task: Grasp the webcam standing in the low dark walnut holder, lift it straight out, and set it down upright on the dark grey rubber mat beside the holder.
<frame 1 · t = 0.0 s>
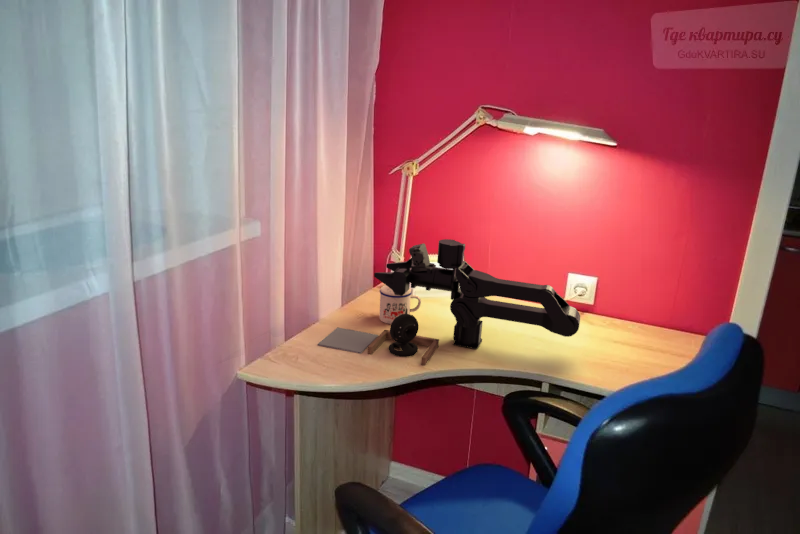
hand: (380, 269, 161), 17 cm above the table, tool horizontal, fingers open, 9 cm apart
mat: (348, 340, 156), on the table
holder: (403, 351, 151), on the table
teacup with lid: (399, 319, 172), on the table
webcam: (403, 351, 151), on the table
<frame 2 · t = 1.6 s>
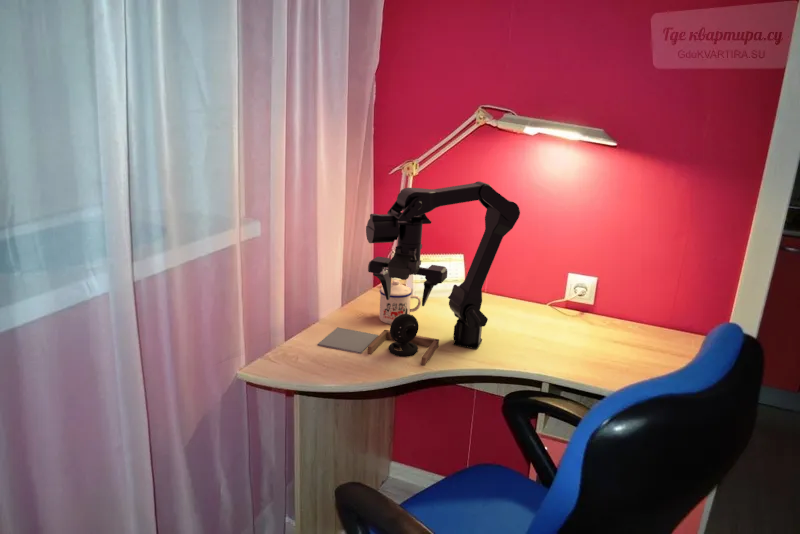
hand: (405, 302, 148), 13 cm above the table, tool pointing down, fingers open, 9 cm apart
nothing on the table moved.
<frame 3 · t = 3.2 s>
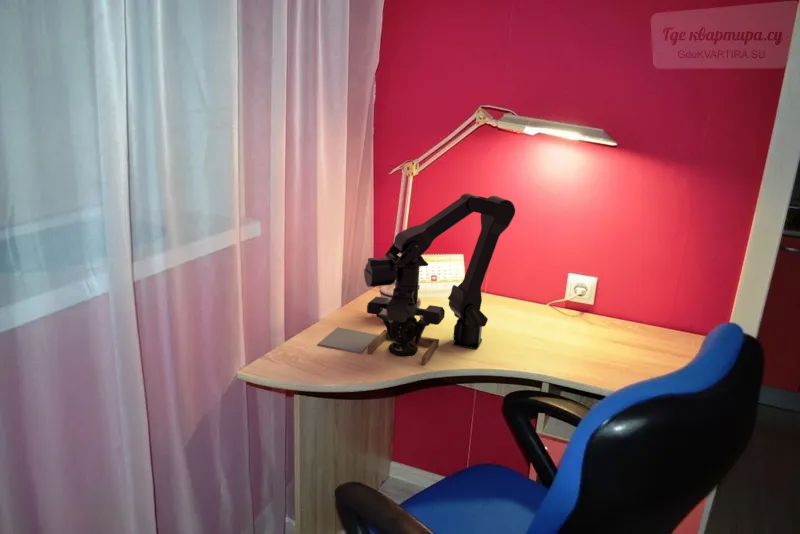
hand: (404, 341, 151), 2 cm above the table, tool pointing down, fingers closed on webcam, 6 cm apart
webcam: (403, 351, 151), on the table, touching gripper
everything else where it was.
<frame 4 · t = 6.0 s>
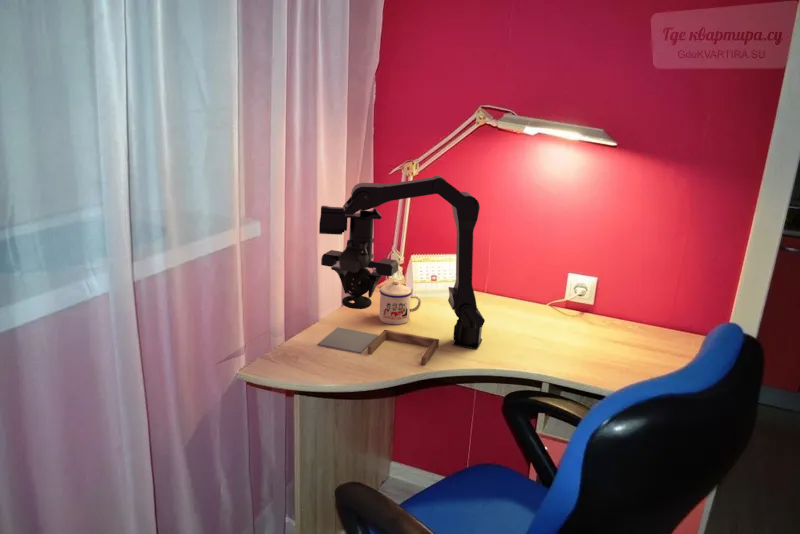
hand: (358, 295, 151), 13 cm above the table, tool pointing down, fingers closed on webcam, 6 cm apart
webcam: (356, 305, 152), point 10 cm above the table, touching gripper
everything else where it was.
when the fingers open (4 cm above the table, at t = 8.6 s): webcam drops 1 cm, resting on mat.
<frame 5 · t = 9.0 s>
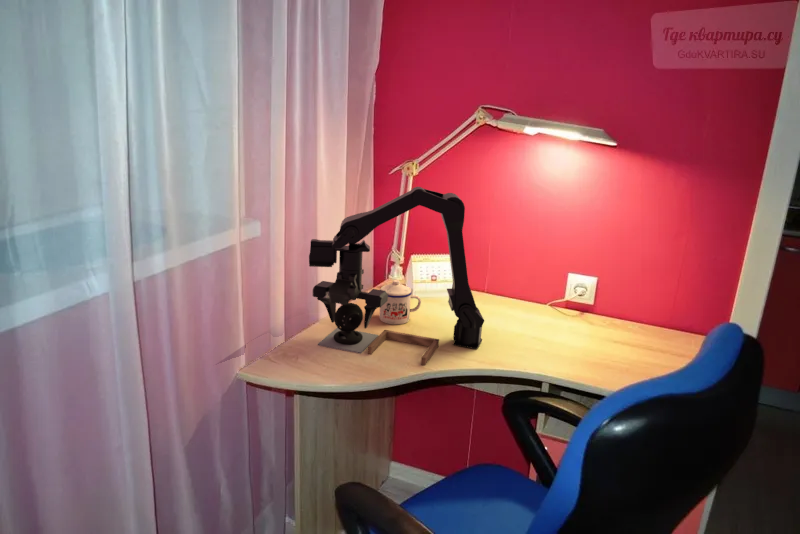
hand: (349, 325, 155), 4 cm above the table, tool pointing down, fingers open, 9 cm apart
webcam: (348, 340, 156), resting on mat
everything else where it was.
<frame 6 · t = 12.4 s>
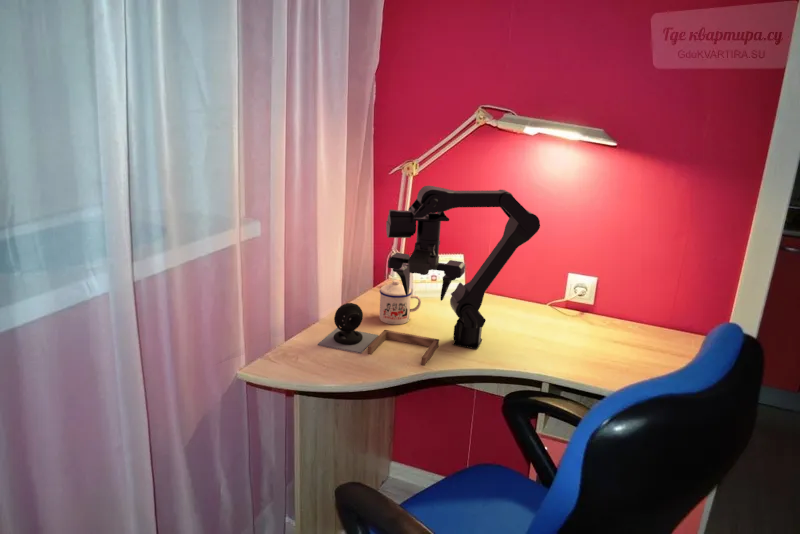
hand: (424, 297, 152), 13 cm above the table, tool pointing down, fingers open, 9 cm apart
nothing on the table moved.
at the end: webcam inside the target area on the mat (0.2 cm from its centre), point 0.2 cm above the mat's base; webcam tilted 0°; the gripper is holding nothing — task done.
